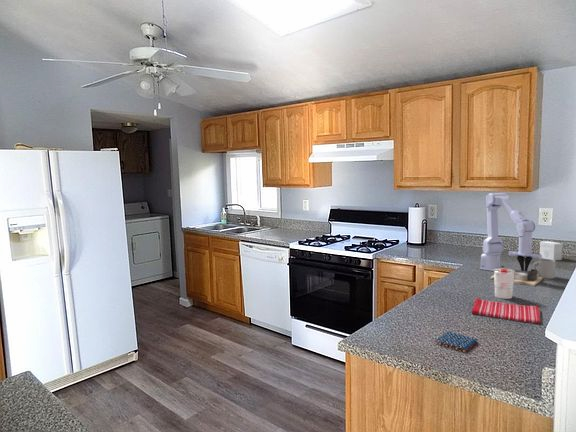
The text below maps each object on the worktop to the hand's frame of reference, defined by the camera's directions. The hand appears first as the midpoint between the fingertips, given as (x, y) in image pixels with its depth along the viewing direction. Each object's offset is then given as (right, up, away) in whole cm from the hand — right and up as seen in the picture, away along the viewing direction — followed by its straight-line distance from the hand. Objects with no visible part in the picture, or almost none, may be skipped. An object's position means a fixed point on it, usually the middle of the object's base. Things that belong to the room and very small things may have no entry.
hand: (524, 270), depth 201 cm
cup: (+14, -4, +6) cm, 16 cm away
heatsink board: (-2, -5, +3) cm, 6 cm away
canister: (-24, -9, -24) cm, 34 cm away
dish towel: (-34, -11, -43) cm, 56 cm away
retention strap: (-3, -2, +3) cm, 4 cm away
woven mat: (-65, -15, -70) cm, 96 cm away
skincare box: (+44, +1, +46) cm, 64 cm away
